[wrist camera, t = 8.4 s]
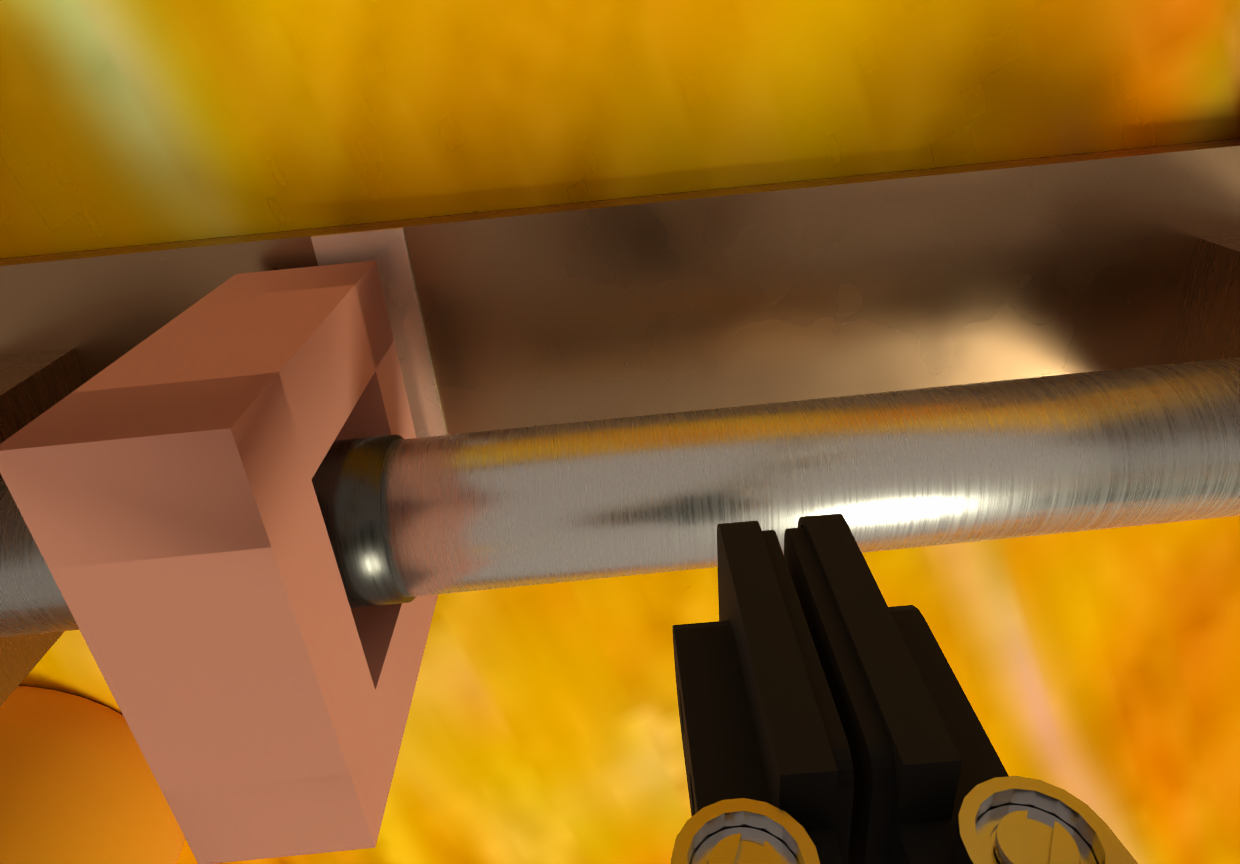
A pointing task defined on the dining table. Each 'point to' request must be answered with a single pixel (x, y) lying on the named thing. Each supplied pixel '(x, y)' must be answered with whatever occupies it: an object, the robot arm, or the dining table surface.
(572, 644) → the dining table surface
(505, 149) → the dining table surface
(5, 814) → the beer bottle
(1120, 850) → the robot arm
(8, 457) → the collar
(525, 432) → the pipe rig
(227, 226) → the dining table surface
